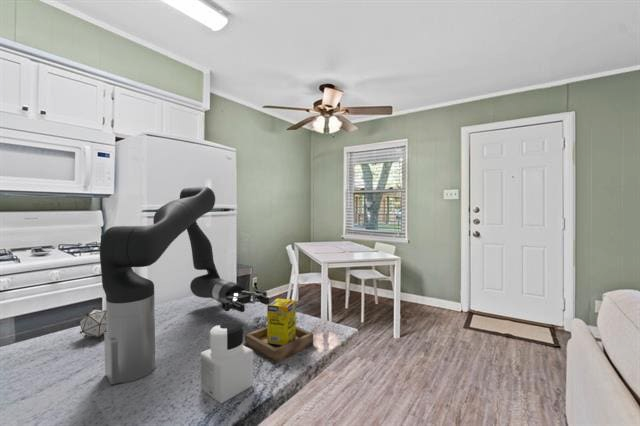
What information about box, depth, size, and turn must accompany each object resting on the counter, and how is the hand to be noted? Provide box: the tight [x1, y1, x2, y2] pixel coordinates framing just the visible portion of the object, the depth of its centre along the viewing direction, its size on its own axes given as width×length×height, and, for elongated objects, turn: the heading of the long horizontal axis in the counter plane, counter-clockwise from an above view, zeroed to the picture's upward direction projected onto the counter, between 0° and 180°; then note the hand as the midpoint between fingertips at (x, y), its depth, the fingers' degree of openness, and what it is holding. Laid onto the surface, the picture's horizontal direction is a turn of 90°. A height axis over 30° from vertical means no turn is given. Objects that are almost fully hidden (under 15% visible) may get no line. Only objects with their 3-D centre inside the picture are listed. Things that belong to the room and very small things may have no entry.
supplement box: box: [266, 298, 297, 347], centre depth 79 cm, size 6×6×11 cm
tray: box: [244, 325, 314, 364], centre depth 79 cm, size 13×13×3 cm
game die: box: [76, 307, 107, 340], centre depth 85 cm, size 9×8×10 cm
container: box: [200, 321, 254, 404], centre depth 61 cm, size 8×8×13 cm
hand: (256, 304), depth 87 cm, fingers open, 8 cm apart
